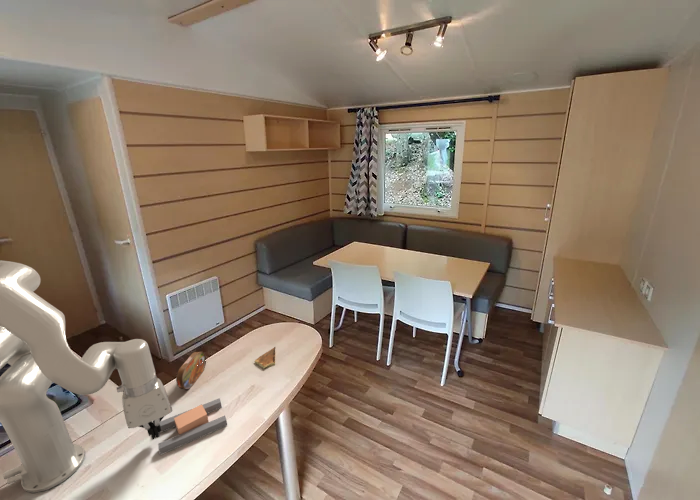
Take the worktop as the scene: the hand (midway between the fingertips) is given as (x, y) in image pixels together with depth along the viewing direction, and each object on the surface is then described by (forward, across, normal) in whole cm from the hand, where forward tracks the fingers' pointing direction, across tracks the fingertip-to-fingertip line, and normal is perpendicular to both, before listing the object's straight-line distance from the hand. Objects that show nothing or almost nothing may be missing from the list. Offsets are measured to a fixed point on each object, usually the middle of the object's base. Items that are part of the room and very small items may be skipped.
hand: (155, 434), depth 92 cm
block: (+3, +9, 0) cm, 10 cm away
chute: (+3, +9, 0) cm, 10 cm away
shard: (+4, +38, +19) cm, 43 cm away
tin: (+3, +12, +23) cm, 26 cm away
